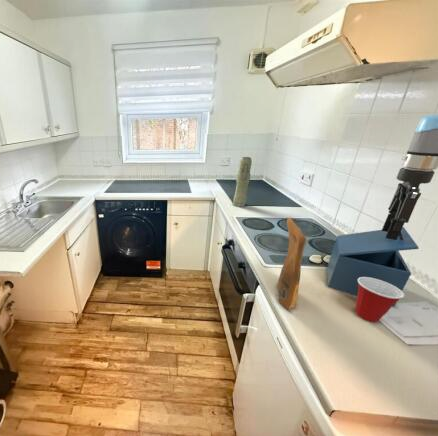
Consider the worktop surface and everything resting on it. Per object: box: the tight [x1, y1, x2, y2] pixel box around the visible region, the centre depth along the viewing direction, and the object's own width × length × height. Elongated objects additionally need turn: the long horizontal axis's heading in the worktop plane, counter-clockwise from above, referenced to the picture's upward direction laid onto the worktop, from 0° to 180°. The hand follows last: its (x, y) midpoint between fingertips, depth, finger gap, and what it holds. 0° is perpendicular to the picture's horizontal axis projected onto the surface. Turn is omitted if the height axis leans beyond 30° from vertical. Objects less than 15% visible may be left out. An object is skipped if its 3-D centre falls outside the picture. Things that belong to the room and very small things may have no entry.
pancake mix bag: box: [277, 216, 308, 312], centre depth 81 cm, size 7×19×28 cm, turn 156°
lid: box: [336, 218, 419, 256], centre depth 86 cm, size 19×18×7 cm
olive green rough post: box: [232, 156, 253, 208], centre depth 171 cm, size 9×12×35 cm
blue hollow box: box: [326, 237, 412, 308], centre depth 90 cm, size 19×18×14 cm
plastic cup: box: [355, 277, 406, 323], centre depth 76 cm, size 11×11×12 cm
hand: (388, 234), depth 83 cm, fingers closed on lid, 6 cm apart
